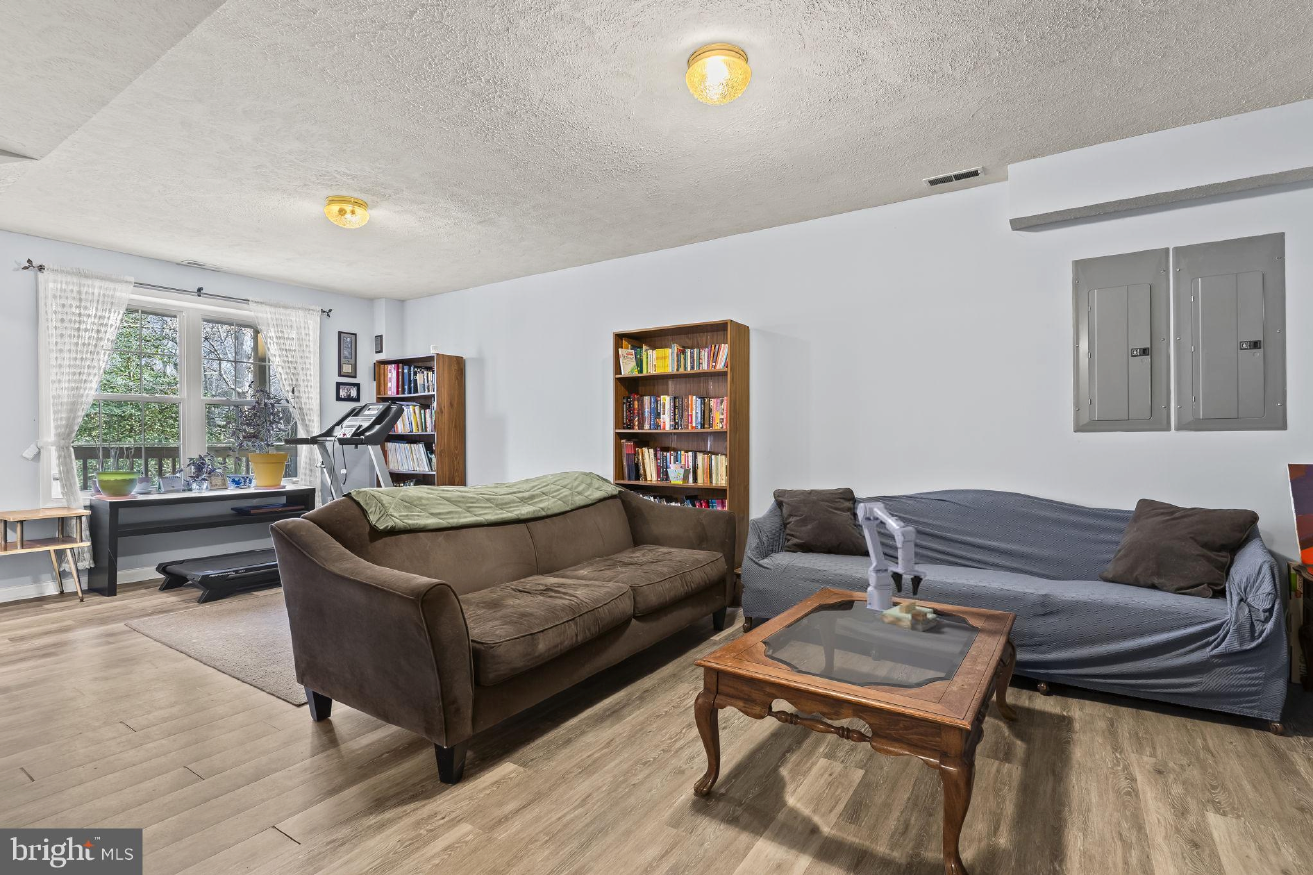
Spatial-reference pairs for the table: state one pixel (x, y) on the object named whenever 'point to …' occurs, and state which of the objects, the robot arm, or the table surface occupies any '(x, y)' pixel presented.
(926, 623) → the wooden tray
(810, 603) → the table surface
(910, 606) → the lid
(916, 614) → the bolt
